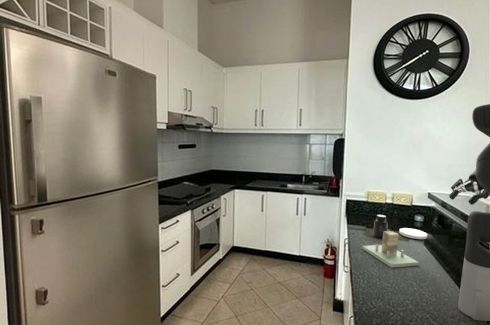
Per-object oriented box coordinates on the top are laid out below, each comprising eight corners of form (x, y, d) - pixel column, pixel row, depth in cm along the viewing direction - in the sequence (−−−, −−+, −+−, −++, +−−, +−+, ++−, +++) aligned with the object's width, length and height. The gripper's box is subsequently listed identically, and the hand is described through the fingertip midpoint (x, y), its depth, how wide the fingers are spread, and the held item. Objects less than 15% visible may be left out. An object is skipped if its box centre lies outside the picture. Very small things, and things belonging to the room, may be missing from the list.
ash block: (396, 255, 134) (398, 234, 132) (388, 255, 132) (390, 234, 131) (389, 251, 138) (391, 230, 137) (381, 251, 137) (383, 231, 136)
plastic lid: (412, 241, 157) (413, 237, 157) (393, 232, 170) (393, 228, 170) (433, 240, 161) (433, 235, 160) (412, 231, 174) (412, 227, 174)
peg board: (418, 265, 127) (419, 255, 126) (391, 267, 124) (392, 257, 123) (386, 247, 146) (387, 238, 146) (362, 248, 143) (363, 240, 143)
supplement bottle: (388, 236, 162) (390, 216, 161) (384, 239, 157) (386, 218, 156) (375, 233, 167) (377, 213, 166) (371, 236, 162) (373, 215, 161)
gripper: (464, 165, 127) (440, 191, 126) (499, 169, 114) (472, 198, 112) (472, 177, 129) (449, 202, 128) (507, 182, 115) (481, 211, 114)
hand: (460, 200), depth 120 cm, fingers open, 8 cm apart
